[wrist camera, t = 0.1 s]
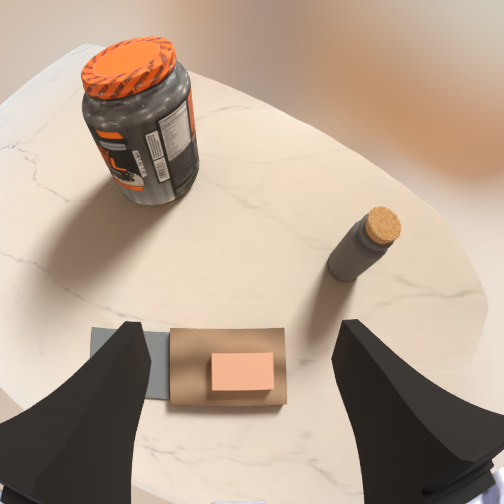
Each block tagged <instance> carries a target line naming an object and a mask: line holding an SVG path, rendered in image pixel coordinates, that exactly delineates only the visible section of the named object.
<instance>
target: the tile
mask: <svg viewBox="0 0 504 504" xmlns="http://www.w3.org/2000/svg"><path fill="white" fill-rule="evenodd" d="M268 389H274V369H273V352H271V353H212V390H268Z"/></svg>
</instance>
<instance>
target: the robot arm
mask: <svg viewBox="0 0 504 504" xmlns="http://www.w3.org/2000/svg"><path fill="white" fill-rule="evenodd" d="M331 360H332V364H333V369H334V374H335V379H336V383H337V386H338V388H339V391H340V394H341V397H342V400H343V403H344V406H345V408H346V411H347V414H348V417H349V420H350V423H351V426H352V428H353V432H354V435H355V439H356V444H357V449H358V454H359V460H360V466H361V473H362V481H363V491H364V504H504V466H503V467H501V468H500V469H498V470H497V471H496V472H494V473H493V474H492V473H491V471H490V469H491V468H492V467H493V466H494V464H493V462H492V459H493V458H494V457H495V456H496V455H498V454H499V453H500V452H501V451H502V450H504V415H501V414H498V413H495V412H491V411H488V410H485V409H483V408H480V407H478V406H475V405H473V404H471V403H468V402H466V401H464V400H462V399H460V398H458V397H457V396H455V395H453V394H451V393H449V392H447V391H446V390H444V389H442V388H441V387H439V386H437V385H436V384H434V383H433V382H431V381H430V380H428V379H427V378H426V377H424V376H423V375H421V374H420V373H419V372H417V371H416V370H415V369H414V368H412V367H411V366H410V365H408V364H407V363H406V362H405V361H404V360H402V359H401V358H400V357H399V356H398V355H397V354H395V353H394V352H393V351H392V350H391V349H390V348H389V347H388V346H386V345H385V344H384V343H383V342H382V341H381V340H380V339H379V338H378V337H377V336H376V335H374V334H373V333H372V332H371V331H370V330H369V329H368V328H367V327H366V326H365V325H364V324H362V323H361V322H360V321H359V320H358V319H352V320H342V323H341V327H340V330H339V334H338V338H337V341H336V344H335V348H334V351H333V355H332V358H331ZM151 362H152V361H151V357H150V354H149V350H148V347H147V343H146V340H145V336H144V332H143V329H142V325H141V322H129V321H125V322H124V323H123V324H122V325H121V326H120V327H119V328H118V329H117V331H116V332H115V333H114V334H113V335H112V336H111V337H110V338H109V339H108V340H107V341H106V342H105V343H104V344H103V345H102V347H101V348H100V349H99V350H98V351H97V352H96V353H95V354H94V355H93V356H92V357H91V358H90V359H89V360H88V361H87V362H86V363H85V364H84V365H83V366H82V367H81V368H80V369H79V370H78V371H77V372H76V373H75V374H74V375H73V376H71V377H70V378H69V379H68V380H67V381H66V382H65V383H63V384H62V385H61V386H60V387H58V388H57V389H56V390H55V391H53V392H52V393H51V394H50V395H48V396H47V397H45V398H44V399H42V400H41V401H39V402H38V403H36V404H35V405H33V406H32V407H31V408H29V409H27V410H26V411H24V412H22V413H20V414H19V415H17V416H15V417H13V418H11V419H9V420H7V421H5V422H3V423H1V424H0V483H1V484H2V485H4V487H3V490H1V489H0V504H131V472H132V458H133V448H134V441H135V435H136V431H137V427H138V423H139V419H140V415H141V411H142V407H143V403H144V399H145V396H146V392H147V388H148V383H149V377H150V369H151ZM213 504H266V502H265V501H258V502H214V503H213Z"/></svg>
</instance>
